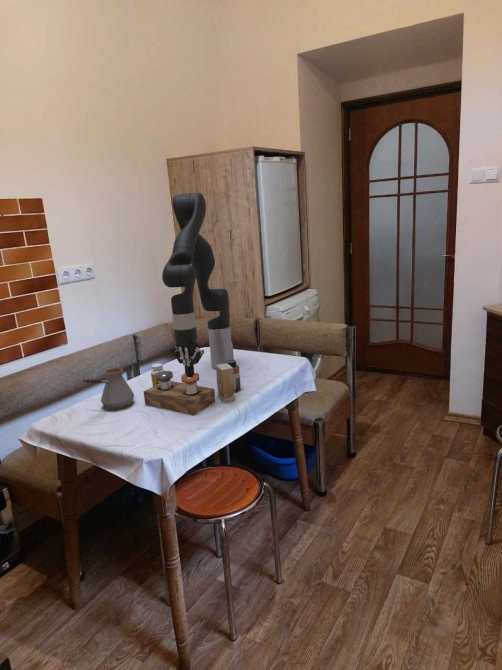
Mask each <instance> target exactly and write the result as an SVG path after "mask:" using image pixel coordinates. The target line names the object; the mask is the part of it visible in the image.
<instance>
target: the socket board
mask: <svg viewBox="0 0 502 670" xmlns="http://www.w3.org/2000/svg"><path fill="white" fill-rule="evenodd" d="M171 387H172V388H171V389H169V390H167V391H163V390H160V384H158V385H156V386H154V387H153V386H151V387H150V388H149V387H148V389H145V390H144V391H142V392H143V400H144V405H145V406H149V407H155V408H158V409H163V410H168V411H171V412H177V413H182V414H184V415H185V414H186V415H189V416H190V415H191V416H195V415H196V414H198V413H200V412H202V411H203V410H205V409H207V408H208V407H210V406H211V405H213V404H215V403H216V394H215V388H214V387H208V386H207V387H206V386H201V385H197V389H198V394H196V395H194V396H189V395H186V388H185V383H183V382H180V381H175V380H174V381H173V380H171Z"/></svg>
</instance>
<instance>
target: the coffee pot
mask: <svg viewBox="0 0 502 670" xmlns="http://www.w3.org/2000/svg"><path fill="white" fill-rule="evenodd" d="M123 372H124V369H123V368H122V367H121V368H120V367H113V368H109V369H105V370H104V372H103V374H104V375H105V376H106V380H99V379H94V378H93V379H90V378H88V379H82V380H81V381H80V382H79V385H80V386H81V387H85V386H86V385H87V384H104V388H103V391H102V394H101V398H100V402H101V404H102V405H103V406H104V407H107V408H108V410H120V409H124V408H127V407H128V406H130V404H131V403H132V402H133V400H134V398H135V394H134V392H133V390H132V388H131V387H130V385H129V384H128V382H127V381H126V379H125V378H124V376H123ZM82 382H83V383H85V384H84V385H82V384H81V383H82Z"/></svg>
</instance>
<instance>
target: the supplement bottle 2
mask: <svg viewBox="0 0 502 670" xmlns="http://www.w3.org/2000/svg"><path fill="white" fill-rule="evenodd" d="M225 363H227V364H229V365H230V366H231V367H232V368H233V377H234V391H235V393H236V391H237V392H239V391H240V390H241V387H242V386H241V374H240V373H241V372H240V366H239V365H237V360H236V359H235V358H234V359H229V360H226V361H225Z"/></svg>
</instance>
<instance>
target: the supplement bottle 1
mask: <svg viewBox="0 0 502 670" xmlns="http://www.w3.org/2000/svg"><path fill="white" fill-rule="evenodd" d="M161 371H166V370H165V369H164V367H163V364H162V363H160V362H159V363H158V362H157V363H153V364H152V365H151V372H150V377H151V382H152V383H151V384H152V387H154V386H156V385H158V384H159V380H156V376H155V374H156V373H158V372H161Z"/></svg>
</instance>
